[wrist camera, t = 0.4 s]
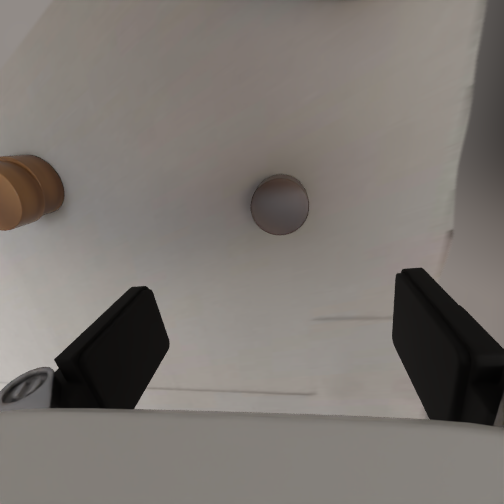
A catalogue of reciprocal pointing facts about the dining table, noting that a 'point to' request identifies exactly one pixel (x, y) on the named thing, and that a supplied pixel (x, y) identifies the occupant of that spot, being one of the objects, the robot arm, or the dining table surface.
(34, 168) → the pile chip bottom
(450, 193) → the dining table surface
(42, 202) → the pile chip top
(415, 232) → the dining table surface
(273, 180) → the walnut chip
